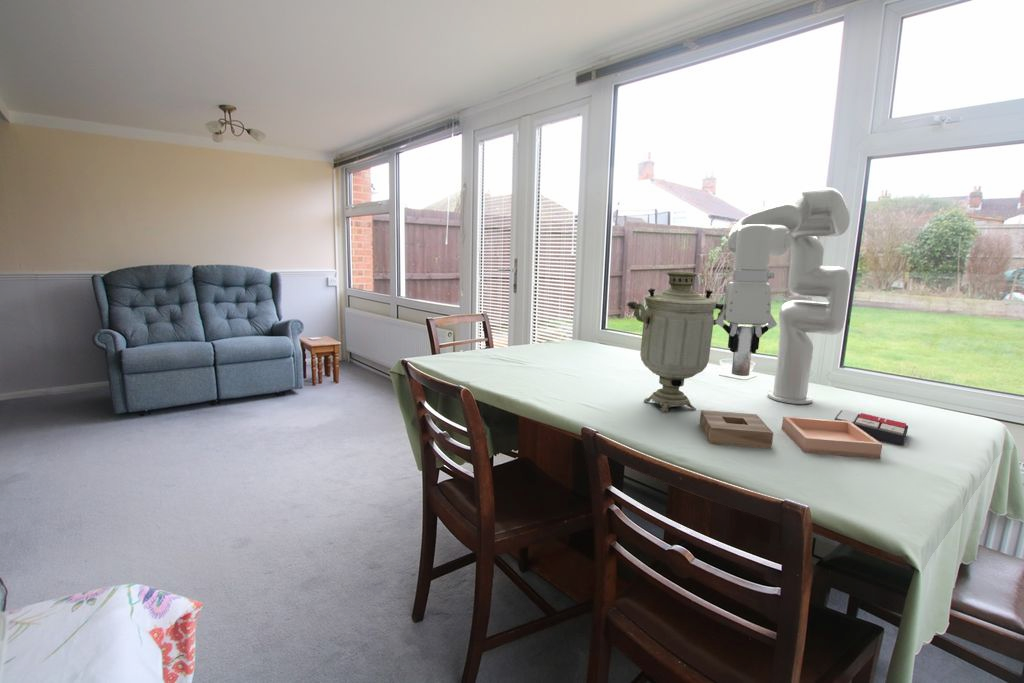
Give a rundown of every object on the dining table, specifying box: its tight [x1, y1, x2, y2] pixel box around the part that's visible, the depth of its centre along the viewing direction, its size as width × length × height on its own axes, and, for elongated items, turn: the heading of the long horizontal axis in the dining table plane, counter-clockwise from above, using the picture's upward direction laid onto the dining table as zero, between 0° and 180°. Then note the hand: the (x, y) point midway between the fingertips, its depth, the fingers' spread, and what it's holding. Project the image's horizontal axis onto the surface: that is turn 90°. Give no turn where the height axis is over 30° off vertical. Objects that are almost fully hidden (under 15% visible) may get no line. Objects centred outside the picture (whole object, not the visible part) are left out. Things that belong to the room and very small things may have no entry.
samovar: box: [627, 271, 724, 414], centre depth 150 cm, size 30×26×40 cm
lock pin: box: [731, 324, 754, 377], centre depth 124 cm, size 4×4×12 cm
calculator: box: [833, 409, 909, 447], centre depth 131 cm, size 11×4×15 cm
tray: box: [781, 415, 883, 460], centre depth 124 cm, size 16×16×4 cm
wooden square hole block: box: [699, 409, 774, 450], centre depth 127 cm, size 14×14×4 cm
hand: (742, 351), depth 124 cm, fingers closed on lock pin, 4 cm apart
